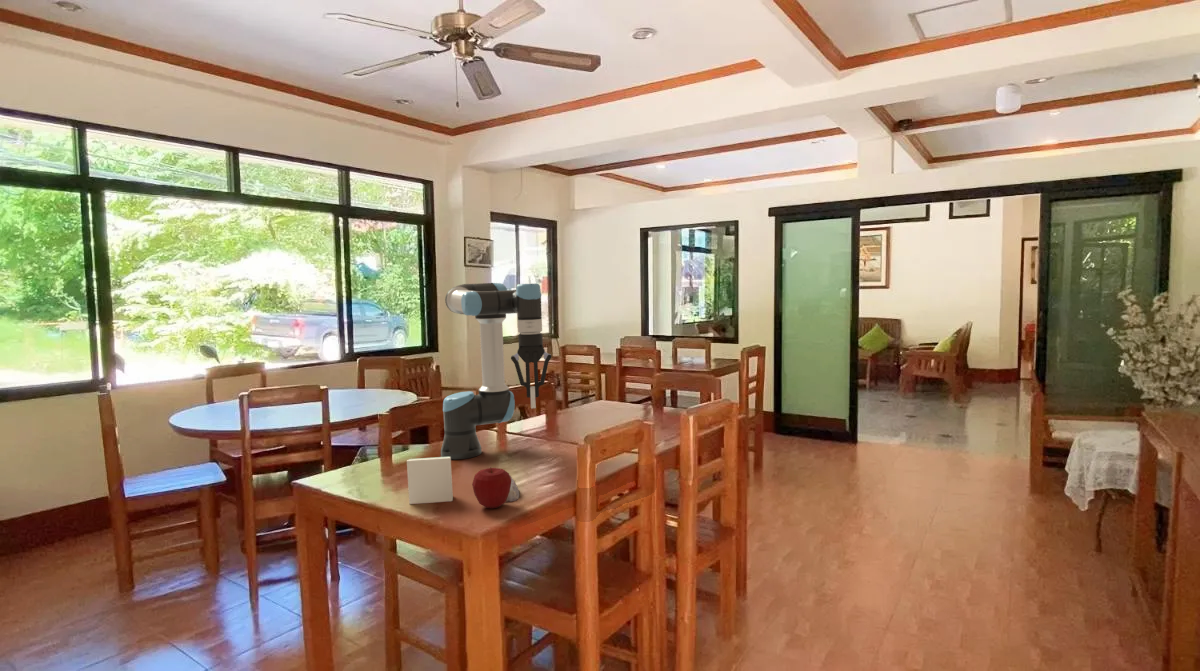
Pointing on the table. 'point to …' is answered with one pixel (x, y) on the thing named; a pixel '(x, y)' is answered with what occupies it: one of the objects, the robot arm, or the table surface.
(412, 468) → the wall
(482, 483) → the apple
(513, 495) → the stone
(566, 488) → the table surface
